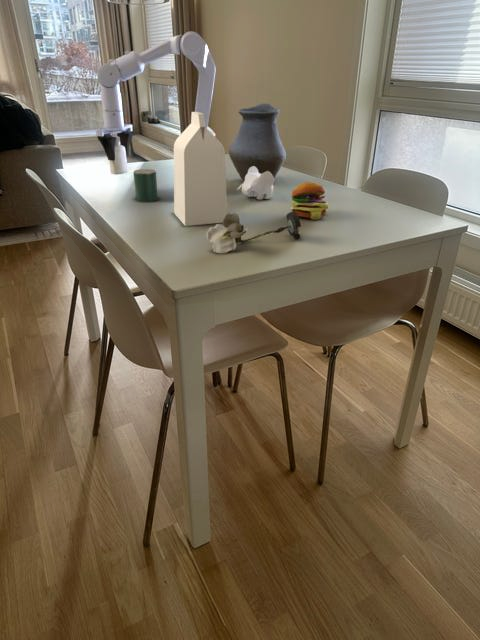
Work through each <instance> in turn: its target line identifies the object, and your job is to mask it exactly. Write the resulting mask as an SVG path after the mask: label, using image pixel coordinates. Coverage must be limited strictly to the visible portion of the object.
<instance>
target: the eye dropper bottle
mask: <svg viewBox="0 0 480 640" xmlns="http://www.w3.org/2000/svg"><path fill="white" fill-rule="evenodd" d="M112 137H116V141H115V160H114V161H112V160H108V161H109V169H110V174H111V175H114V176H115V175H116V176H117V175H123V174H127V173H128V172H129V170H128V162H127V161H128V159H127V157H126V150H125V147H124V146H122V145H120V137H118V136H117V134H113V136H112Z"/></svg>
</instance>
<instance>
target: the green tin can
mask: <svg viewBox="0 0 480 640" xmlns="http://www.w3.org/2000/svg"><path fill="white" fill-rule="evenodd" d="M132 174H133V185H134V193H135V195H134V196H135V200H136V201H137V202H141V203H149V202H155V201H157V200H158V184H157V183H158V181H157V172H156V170H155V169H150V168H140V169H135V170H134V171H133V173H132Z"/></svg>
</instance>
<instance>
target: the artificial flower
mask: <svg viewBox="0 0 480 640" xmlns="http://www.w3.org/2000/svg"><path fill="white" fill-rule="evenodd" d="M285 218H286V221H287V226H283V227H278V229H274V230H270V231H266V232H264V233H260V234H257V235H255V236H252V237H251V238H247V239H242V236H244V235H245V234H246V233H247V231H248V229H249V227H246V228H245V229H244V225H243V224H241V222H240V221H241V220H240V216H239V214H237V213H231V214H230V213H227V214H226V215H225V218H224V220H223V222H222V223H215V225H214V226H210V227H209V228H208V230H207V231H206V240H207V241H208V242H209V243H213V244H212V249H213V252H214V253H217V254H227V253H228V252H229V251H235V250H236V248H237V244H238V243H239V244H240V243H242V244H243V243H246V242H248V241H252V240H255V239H257V238H260V237H262V236H266V235H269V234H273V233H274V234H276V233H277V234H279V233H282V232H283V231H285V230H287V232H288V234H289V236H290V237H292V238H294V239H297V240H298V239H300V238H301V237H302V234H301V233H299V228H301V227H302V224H301V220H300V216H298V215H297V214H296V212H294V211H292V210H291V212H290V211H289V212H288V213H286V217H285Z"/></svg>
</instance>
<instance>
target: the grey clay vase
mask: <svg viewBox="0 0 480 640" xmlns="http://www.w3.org/2000/svg"><path fill="white" fill-rule="evenodd" d="M238 113H239V115H240V116H241V117H242V120H241V123H240V126H239V128H238V132H237V133H236V136H235V138H234V139H233V140H232V142H231V143H230V144H229V147H228V156H229V159H230V160H231V162H232V164H233V166H234V168H235V170H236V172H237V174H238V175H239V177H240V179H241V180H242V182H244V181H245V176H246V174H247V173H248V170H249V168H250V167H252V166H255V167H256V168H257V169H258V172H259V173H260V174H262V173H264V172H266V171H269V172H270V173H271V174H272V175H273V177H274V179H275V180H276V177H277V175H278V174H279V172H280V170H281V168H282V166H283V164H284V162H285V161H286V158H287V152H286V149H285V147H284V145H283V141H282V140H281V137H280V133H279V128H278V124H277V123H278V122H277V120H278V116H279V115H280V113H281V110H280V109H279V108H275V107H274V106H273V104H271V103H260V104H257V105H254V106H251V107H246V108H240V109H239V110H238Z"/></svg>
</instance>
